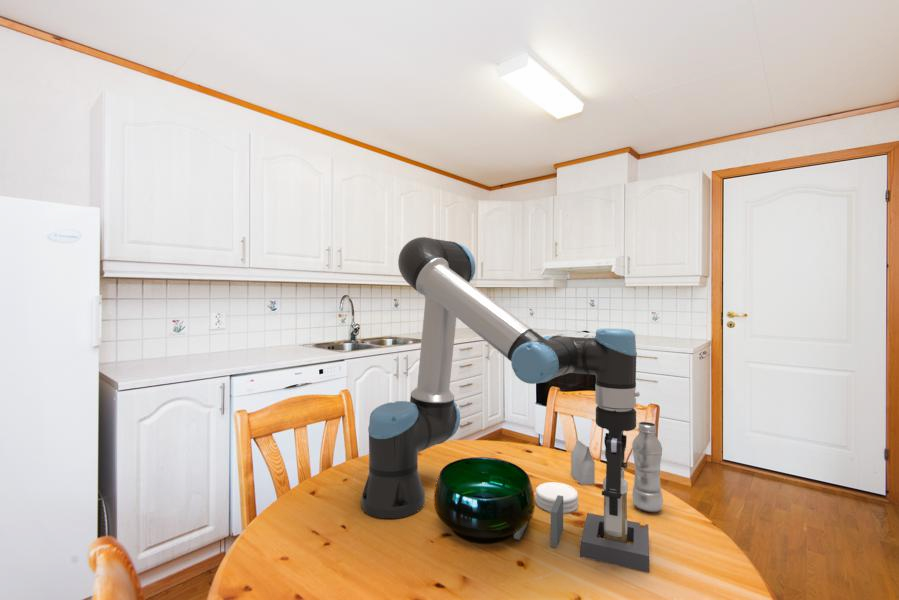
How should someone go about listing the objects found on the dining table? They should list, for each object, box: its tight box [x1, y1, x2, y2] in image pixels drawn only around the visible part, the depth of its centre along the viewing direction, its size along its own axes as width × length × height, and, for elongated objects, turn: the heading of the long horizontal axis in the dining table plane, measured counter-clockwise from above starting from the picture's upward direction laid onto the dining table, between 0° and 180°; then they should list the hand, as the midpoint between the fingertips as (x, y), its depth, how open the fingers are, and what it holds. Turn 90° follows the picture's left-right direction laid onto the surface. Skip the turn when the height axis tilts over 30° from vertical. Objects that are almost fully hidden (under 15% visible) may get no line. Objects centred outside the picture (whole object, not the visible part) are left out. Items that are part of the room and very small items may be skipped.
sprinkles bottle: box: [602, 476, 629, 544], centre depth 86 cm, size 5×5×14 cm
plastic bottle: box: [631, 421, 664, 513], centre depth 101 cm, size 6×7×20 cm
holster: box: [513, 495, 564, 549], centre depth 91 cm, size 9×8×7 cm
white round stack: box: [535, 481, 579, 515], centre depth 104 cm, size 10×10×4 cm
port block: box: [579, 512, 650, 574], centre depth 86 cm, size 12×12×3 cm
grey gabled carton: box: [570, 439, 596, 486], centre depth 118 cm, size 4×7×10 cm, turn 7°
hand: (615, 513), depth 86 cm, fingers open, 13 cm apart
